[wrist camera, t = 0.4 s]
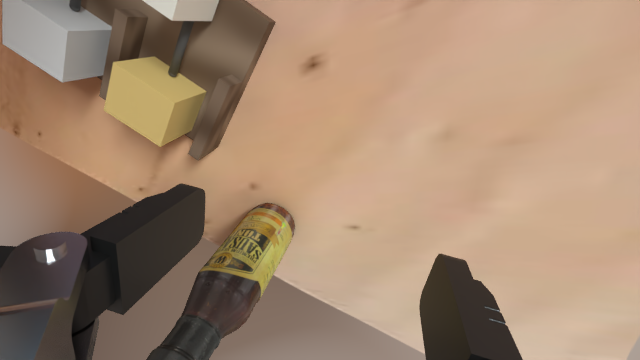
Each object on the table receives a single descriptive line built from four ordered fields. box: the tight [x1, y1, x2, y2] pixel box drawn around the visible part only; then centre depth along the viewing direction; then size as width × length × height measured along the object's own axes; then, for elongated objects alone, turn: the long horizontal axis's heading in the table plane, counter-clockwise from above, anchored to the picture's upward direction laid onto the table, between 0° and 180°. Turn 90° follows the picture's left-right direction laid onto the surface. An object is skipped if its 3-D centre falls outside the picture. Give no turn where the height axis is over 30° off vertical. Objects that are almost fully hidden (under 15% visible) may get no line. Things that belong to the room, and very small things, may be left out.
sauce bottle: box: [146, 203, 295, 360], centre depth 29 cm, size 7×6×20 cm
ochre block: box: [104, 0, 219, 147], centre depth 27 cm, size 14×6×6 cm, turn 148°
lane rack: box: [81, 0, 275, 160], centre depth 28 cm, size 15×22×4 cm
